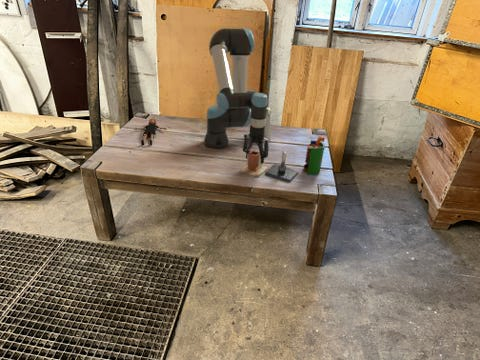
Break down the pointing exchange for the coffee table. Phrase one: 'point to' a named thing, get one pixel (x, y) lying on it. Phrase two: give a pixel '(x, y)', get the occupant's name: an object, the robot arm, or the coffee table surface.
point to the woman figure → (149, 130)
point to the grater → (267, 126)
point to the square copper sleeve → (253, 160)
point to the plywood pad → (253, 173)
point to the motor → (314, 156)
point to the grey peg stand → (282, 170)
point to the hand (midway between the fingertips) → (254, 166)
